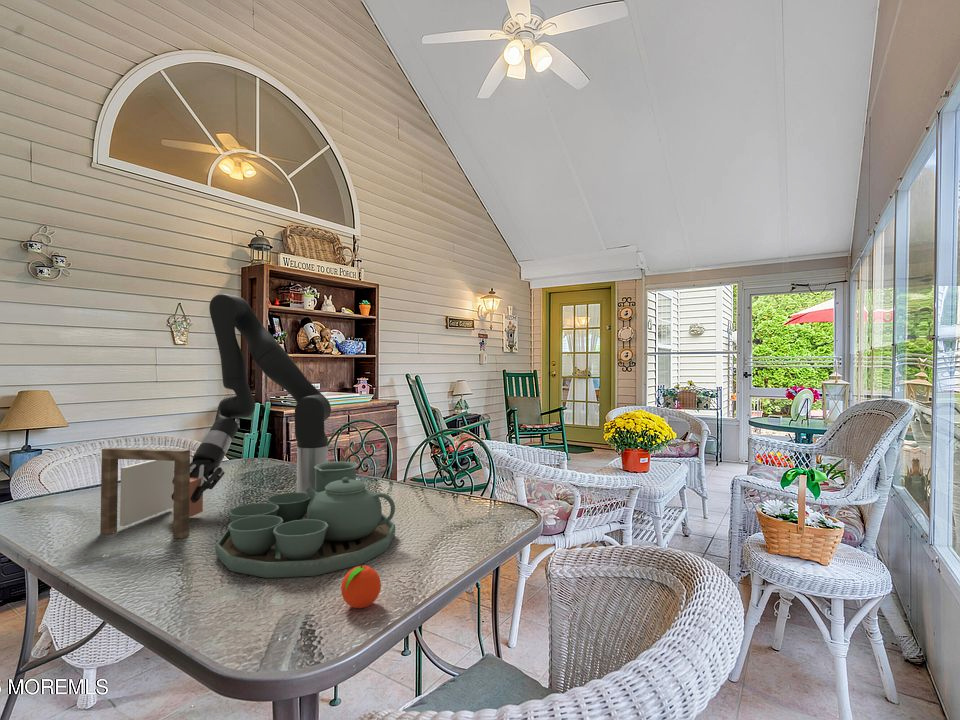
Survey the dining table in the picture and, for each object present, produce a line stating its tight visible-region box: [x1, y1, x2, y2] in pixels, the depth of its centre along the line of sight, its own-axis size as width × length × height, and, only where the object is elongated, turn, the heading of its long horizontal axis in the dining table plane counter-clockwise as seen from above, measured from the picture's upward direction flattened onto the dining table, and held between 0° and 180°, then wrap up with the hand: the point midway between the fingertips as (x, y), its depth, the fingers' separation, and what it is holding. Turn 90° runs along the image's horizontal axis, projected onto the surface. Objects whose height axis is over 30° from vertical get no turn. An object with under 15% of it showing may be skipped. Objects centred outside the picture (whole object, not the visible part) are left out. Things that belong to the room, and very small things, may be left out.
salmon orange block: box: [172, 477, 204, 518], centre depth 138 cm, size 5×5×10 cm
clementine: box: [340, 565, 382, 609], centre depth 88 cm, size 8×7×7 cm
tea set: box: [214, 461, 396, 579], centre depth 119 cm, size 40×40×16 cm
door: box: [119, 460, 174, 527], centre depth 137 cm, size 17×2×15 cm, turn 173°
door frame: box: [99, 446, 191, 539], centre depth 125 cm, size 22×2×21 cm, turn 83°
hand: (183, 500), depth 136 cm, fingers closed on salmon orange block, 5 cm apart
